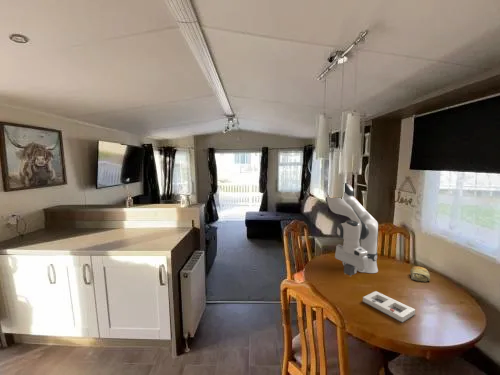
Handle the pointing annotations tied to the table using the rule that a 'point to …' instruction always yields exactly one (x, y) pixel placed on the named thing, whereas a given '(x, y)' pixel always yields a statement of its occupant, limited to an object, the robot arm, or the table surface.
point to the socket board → (389, 306)
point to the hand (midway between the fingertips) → (350, 270)
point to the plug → (348, 269)
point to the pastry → (420, 274)
